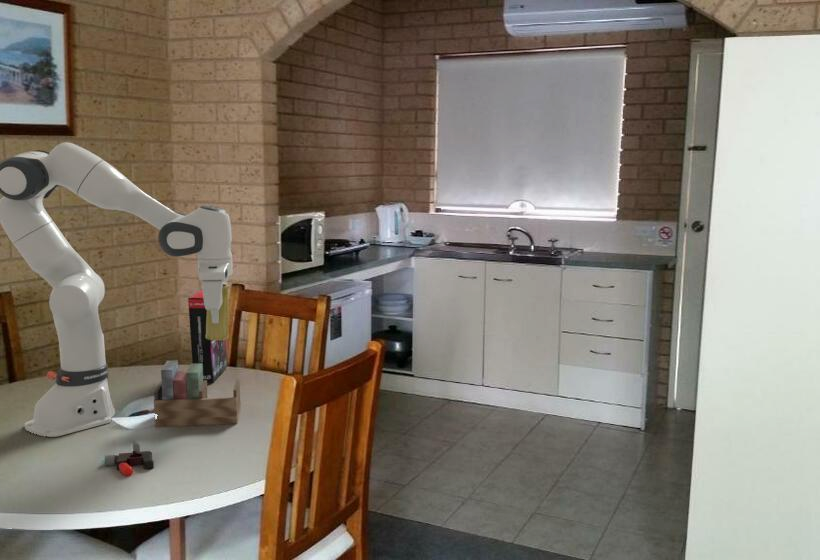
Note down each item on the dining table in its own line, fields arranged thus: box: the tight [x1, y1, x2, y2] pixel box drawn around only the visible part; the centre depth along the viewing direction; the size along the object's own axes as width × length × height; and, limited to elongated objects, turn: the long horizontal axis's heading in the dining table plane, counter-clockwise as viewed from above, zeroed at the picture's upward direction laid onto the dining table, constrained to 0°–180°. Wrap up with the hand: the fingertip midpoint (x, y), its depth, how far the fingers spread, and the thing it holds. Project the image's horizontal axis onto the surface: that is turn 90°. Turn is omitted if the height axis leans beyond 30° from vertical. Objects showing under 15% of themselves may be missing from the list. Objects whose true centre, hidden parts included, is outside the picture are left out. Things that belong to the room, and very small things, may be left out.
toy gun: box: [100, 440, 155, 477], centre depth 173 cm, size 10×12×5 cm
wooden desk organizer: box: [153, 360, 242, 428], centre depth 203 cm, size 21×11×15 cm, turn 97°
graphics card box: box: [187, 289, 228, 384], centre depth 239 cm, size 17×7×27 cm, turn 179°
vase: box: [205, 284, 230, 340], centre depth 201 cm, size 6×6×14 cm
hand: (217, 319), depth 201 cm, fingers closed on vase, 5 cm apart
